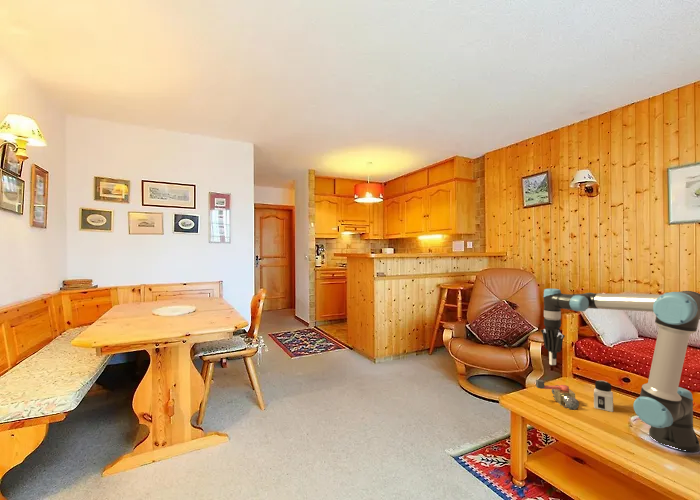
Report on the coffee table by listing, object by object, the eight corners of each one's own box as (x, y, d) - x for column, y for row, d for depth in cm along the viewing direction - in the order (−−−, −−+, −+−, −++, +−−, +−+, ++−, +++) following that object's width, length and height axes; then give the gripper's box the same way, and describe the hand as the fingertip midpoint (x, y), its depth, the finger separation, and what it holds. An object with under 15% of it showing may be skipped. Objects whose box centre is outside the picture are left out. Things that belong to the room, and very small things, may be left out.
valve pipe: (580, 410, 166) (579, 397, 167) (565, 409, 168) (564, 396, 168) (564, 396, 182) (564, 384, 182) (550, 395, 183) (550, 384, 183)
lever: (566, 388, 177) (566, 380, 177) (570, 391, 173) (570, 383, 173) (535, 386, 179) (535, 379, 179) (538, 389, 175) (538, 381, 175)
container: (613, 412, 164) (612, 386, 164) (593, 408, 169) (593, 382, 169) (612, 406, 170) (612, 381, 170) (594, 402, 175) (593, 378, 175)
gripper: (569, 320, 165) (569, 368, 164) (548, 316, 177) (548, 360, 177) (556, 321, 163) (556, 369, 163) (536, 316, 176) (536, 360, 176)
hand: (552, 364), depth 170 cm, fingers closed
